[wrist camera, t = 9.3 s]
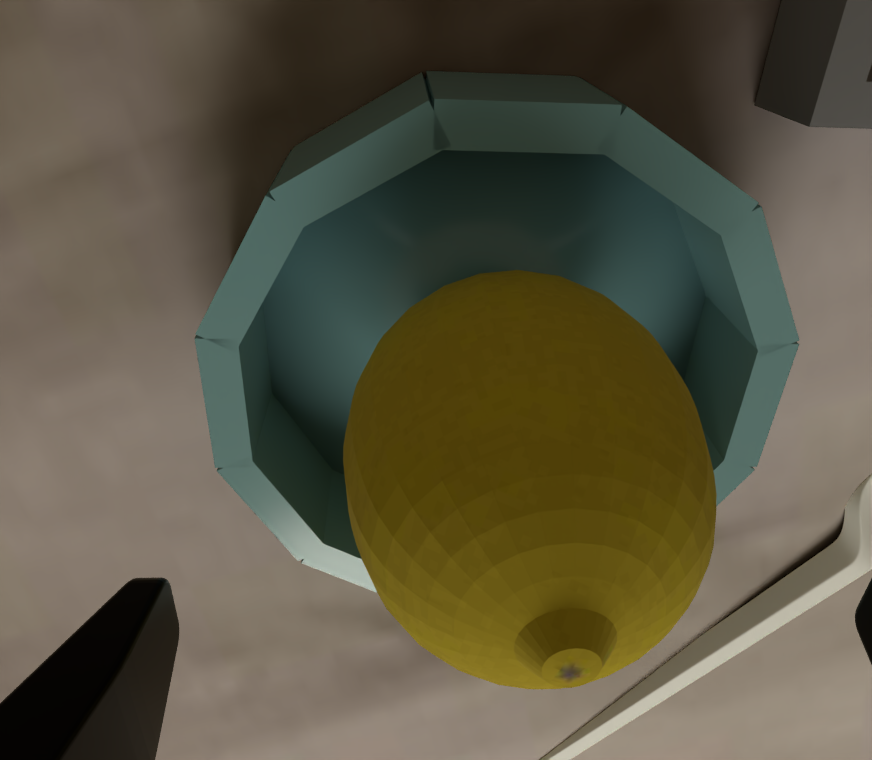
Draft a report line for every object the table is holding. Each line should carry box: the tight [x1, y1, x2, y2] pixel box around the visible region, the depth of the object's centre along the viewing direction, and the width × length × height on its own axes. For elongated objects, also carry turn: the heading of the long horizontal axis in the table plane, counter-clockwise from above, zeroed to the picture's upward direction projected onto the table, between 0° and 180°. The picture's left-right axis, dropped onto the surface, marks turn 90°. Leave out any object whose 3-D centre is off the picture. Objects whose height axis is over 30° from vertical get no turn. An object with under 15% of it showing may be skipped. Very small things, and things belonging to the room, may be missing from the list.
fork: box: [540, 474, 872, 760], centre depth 20 cm, size 3×20×2 cm, turn 143°
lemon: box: [343, 270, 717, 689], centre depth 11 cm, size 6×6×8 cm
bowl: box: [195, 71, 799, 592], centre depth 14 cm, size 10×10×3 cm
